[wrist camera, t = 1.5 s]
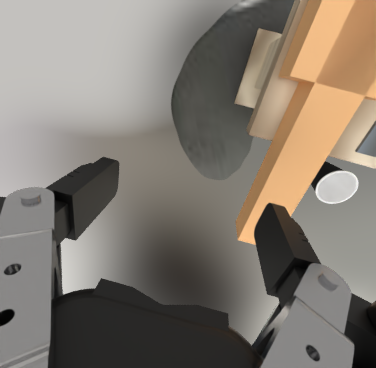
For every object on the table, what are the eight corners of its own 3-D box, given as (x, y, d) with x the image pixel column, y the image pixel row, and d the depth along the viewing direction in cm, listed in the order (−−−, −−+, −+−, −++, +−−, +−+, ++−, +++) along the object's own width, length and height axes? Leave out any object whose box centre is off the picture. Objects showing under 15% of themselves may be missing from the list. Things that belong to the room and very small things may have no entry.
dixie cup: (291, 174, 53) (308, 196, 43) (310, 148, 49) (333, 165, 39) (318, 185, 53) (340, 208, 43) (338, 160, 49) (368, 179, 40)
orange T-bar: (434, -18, 12) (492, -45, 10) (278, 233, 23) (286, 253, 20) (327, -46, 12) (356, -79, 10) (221, 217, 23) (221, 235, 21)
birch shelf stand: (330, 48, 39) (614, -30, 11) (295, 119, 46) (418, 180, 18) (252, 28, 40) (340, -100, 11) (230, 101, 46) (249, 135, 18)
